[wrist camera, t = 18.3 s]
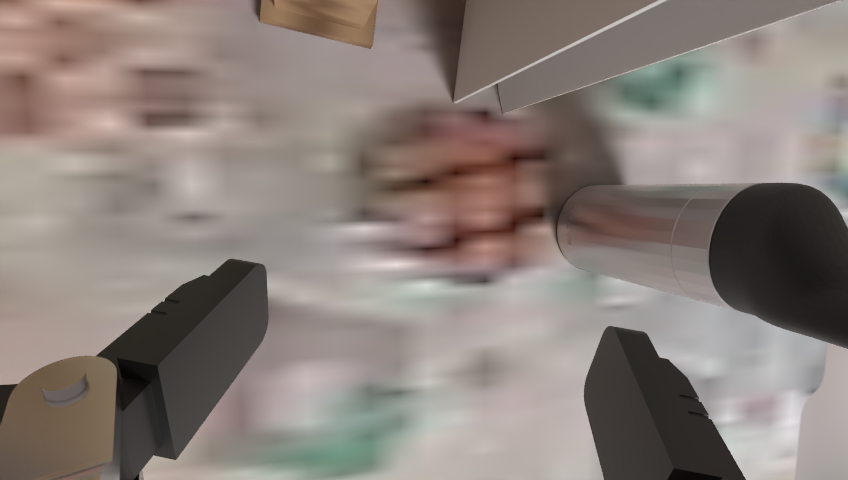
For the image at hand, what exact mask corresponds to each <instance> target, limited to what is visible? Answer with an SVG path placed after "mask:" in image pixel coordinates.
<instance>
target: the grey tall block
mask: <svg viewBox="0 0 848 480" xmlns="http://www.w3.org/2000/svg"><path fill="white" fill-rule="evenodd" d="M840 1H843V0H466V6H465V14H464V22H463V30H462V38H461V45H460V53H459V61H458V69H457V77H456V85H455V93H454V101H453V103H458V102H460V101H462V100H464V99H466V98H468V97H470V96H472V95H474V94H476V93H478V92H480V91H482V90H484V89H486V88H488V87H490V86H492V85H495V84H497V85H498V91H499V97H500V102H501V108H502V114H506V113H509V112H512V111H515V110H518V109H521V108H524V107H527V106H530V105H533V104H536V103H539V102H542V101H545V100H548V99H551V98H554V97H556V96H559V95H562V94H565V93H568V92H571V91H574V90H577V89H580V88H583V87H586V86H589V85H592V84H595V83H598V82H601V81H604V80H607V79H610V78H613V77H616V76H619V75H622V74H625V73H628V72H631V71H634V70H637V69H640V68H643V67H646V66H649V65H652V64H655V63H658V62H661V61H664V60H667V59H670V58H673V57H676V56H679V55H682V54H685V53H688V52H691V51H694V50H697V49H700V48H703V47H706V46H709V45H712V44H715V43H718V42H721V41H724V40H727V39H730V38H733V37H736V36H739V35H742V34H745V33H748V32H751V31H754V30H757V29H760V28H763V27H766V26H769V25H772V24H775V23H778V22H781V21H784V20H787V19H790V18H793V17H796V16H799V15H802V14H805V13H808V12H811V11H814V10H817V9H820V8H823V7H826V6H829V5H832V4H835V3H838V2H840Z"/></svg>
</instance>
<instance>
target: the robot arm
mask: <svg viewBox="0 0 848 480" xmlns="http://www.w3.org/2000/svg"><path fill="white" fill-rule="evenodd" d="M557 236H558V243H559V246H560V249H561V251H562V253H563V255H564V256H565V258H566V259H567V260H568V261H569V262H570V263H571V264H573V265H574V266H576V267H577V268H580V269H583V270H587V271H590V272H594V273H598V274H602V275H605V276H609V277H612V278H616V279H620V280H624V281H627V282H631V283H635V284H639V285H642V286H646V287H650V288H654V289H657V290H661V291H665V292H669V293H673V294H676V295H680V296H684V297H688V298H691V299H695V300H699V301H703V302H707V303H711V304H715V305H718V306H722V307H726V308H730V309H734V310H738V311H741V312H744V313H748V314H752V315H755V316H757V317H758V318H760V319H762V320H764V321H765V322H767V323H770V324H772V325H774V326H777V327H780V328H783V329H786V330H789V331H793V332H796V333H799V334H803V335H806V336H809V337H813V338H816V339H819V340H822V341H825V342H828V343H831V344H835V345H837V346H841V347H844V348H847V349H848V228H847V226H846V224H845V222H844V220H843V217H842V215H841V214H840V212H839V210H838V209H837V207H836V206H835V205H834V203H833V202H832V201H831V200H830V199H829V198H828V197H827V196H826V195H825V194H823V193H822V192H821V191H819V190H817V189H815V188H813V187H810V186H806V185H802V184H796V183H747V184H674V185H593V186H587V187H584V188H582V189H580V190H578V191H577V192H575V193H574V194H573V195H572V196H571V197H570V198H569V199H568V200H567V202H566V203H565V205H564V206H563V208H562V211H561V213H560V216H559V220H558V226H557ZM267 326H268V297H267V275H266V269H265V266H264V265H263V264H259V263H254V262H248V261H242V260H236V259H229V260H227V261H226V262H225V263H224V264H222V265H221V266H220V267H219V268H218V269H217V270H216V271H214V272H213V273H212V274H211V275H210V276H206V275H203V276H201V277H199V278H196V279H194V280H192V281H190V282H187V283H185V284H183V285H181V286H180V287H179V288H177V289H176V290H175V291H174V292H173V293H171V294H170V295H169V296H168V297H167V298H165V301H164V302H161V303H159V304H158V305H157V306H156V307H154V308H153V309H152V310H151V313H147V314H146V315H145V316H144V317H142V318H141V319H140V320H139V321H138V322H136V323H135V324H134V325H133V326H132V327H130V328H129V329H128V330H127V331H126V332H124V333H123V334H122V335H121V336H120V337H118V338H117V339H116V340H115V341H114V342H112V343H111V344H110V345H109V346H107V347H106V348H105V349H104V350H103V351H101V352H100V353H99V354H98V355H97V356H79V357H73V358H68V359H64V360H60V361H57V362H54V363H52V364H49V365H47V366H44V367H42V368H41V369H39V370H37V371H35V372H33V373H32V374H30V375H29V376H27V377H26V378H25V379H23V380H22V381H21V382H20V383H19V384H12V385H0V480H144V478H143V472H142V469H143V468H144V466H145V465H146V464H147V463H148V461H149V460H150V459H151V457H152V456H153V455H155V456H159V457H164V458H169V459H174V460H176V459H177V458H178V457H179V455H180V454H181V452H182V451H183V450H184V448H185V447H186V446H187V444H188V443H189V441H190V440H191V439H192V437H193V436H194V435H195V433H196V432H197V430H198V429H199V428H200V426H201V425H202V424H203V422H204V421H205V419H206V418H207V417H208V415H209V414H210V413H211V411H212V410H213V408H214V407H215V406H216V404H217V403H218V402H219V400H220V399H221V397H222V396H223V395H224V393H225V392H226V390H227V389H228V388H229V386H230V385H231V384H232V382H233V381H234V379H235V378H236V377H237V375H238V374H239V373H240V371H241V370H242V368H243V367H244V366H245V364H246V363H247V362H248V360H249V359H250V357H251V356H252V355H253V353H254V352H255V351H256V349H257V348H258V346H259V345H260V344H261V342H262V340H263V338H264V336H265V333H266V330H267ZM698 399H699V397H698V396H697V394H696V392H695V390H694V389H693V387H692V385H691V384H690V382H689V380H688V378H687V377H686V376H685V375H684V374H683V373H682V372H681V371H680V370H678V369H677V368H676V367H675V366H674V365H673V364H672V363H671V362H670V361H669V360H668V359H664V358H659V356H658V354H657V352H656V350H655V348H654V346H653V344H652V343H651V341H650V339H649V337H648V335H647V334H646V333H645V332H641V331H635V330H630V329H624V328H618V327H613V326H609V327H607V328H606V329H605V331H604V333H603V335H602V338H601V340H600V343H599V345H598V348H597V351H596V353H595V356H594V359H593V361H592V364H591V367H590V369H589V372H588V374H587V377H586V381H585V387H584V402H585V407H586V411H587V415H588V419H589V422H590V426H591V430H592V434H593V438H594V442H595V446H596V449H597V453H598V457H599V461H600V465H601V469H602V472H603V476H604V480H746V479H745V477H744V476H743V474H742V472H741V470H740V469H739V467H738V465H737V463H736V462H735V460H734V458H733V456H732V455H731V453H730V451H729V450H728V448H727V446H726V444H725V443H724V441H723V439H722V437H721V436H720V434H719V432H718V430H717V429H716V427H715V425H714V423H713V422H712V420H711V419H708V413H707V411H706V410H705V408H704V406H703V404H702V403H701V402H699V401H698Z"/></svg>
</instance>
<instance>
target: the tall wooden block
mask: <svg viewBox="0 0 848 480" xmlns="http://www.w3.org/2000/svg"><path fill="white" fill-rule="evenodd" d="M377 3H378V0H261V9H260V22H262V23H266V24H270V25H274V26H278V27H283V28H287V29H291V30H295V31H299V32H303V33H308V34H312V35H316V36H320V37H324V38H328V39H333V40H337V41H341V42H345V43H349V44H353V45H357V46H362V47H366V48H371V47H372V45H373V38H374V29H375V20H376V11H377Z"/></svg>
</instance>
